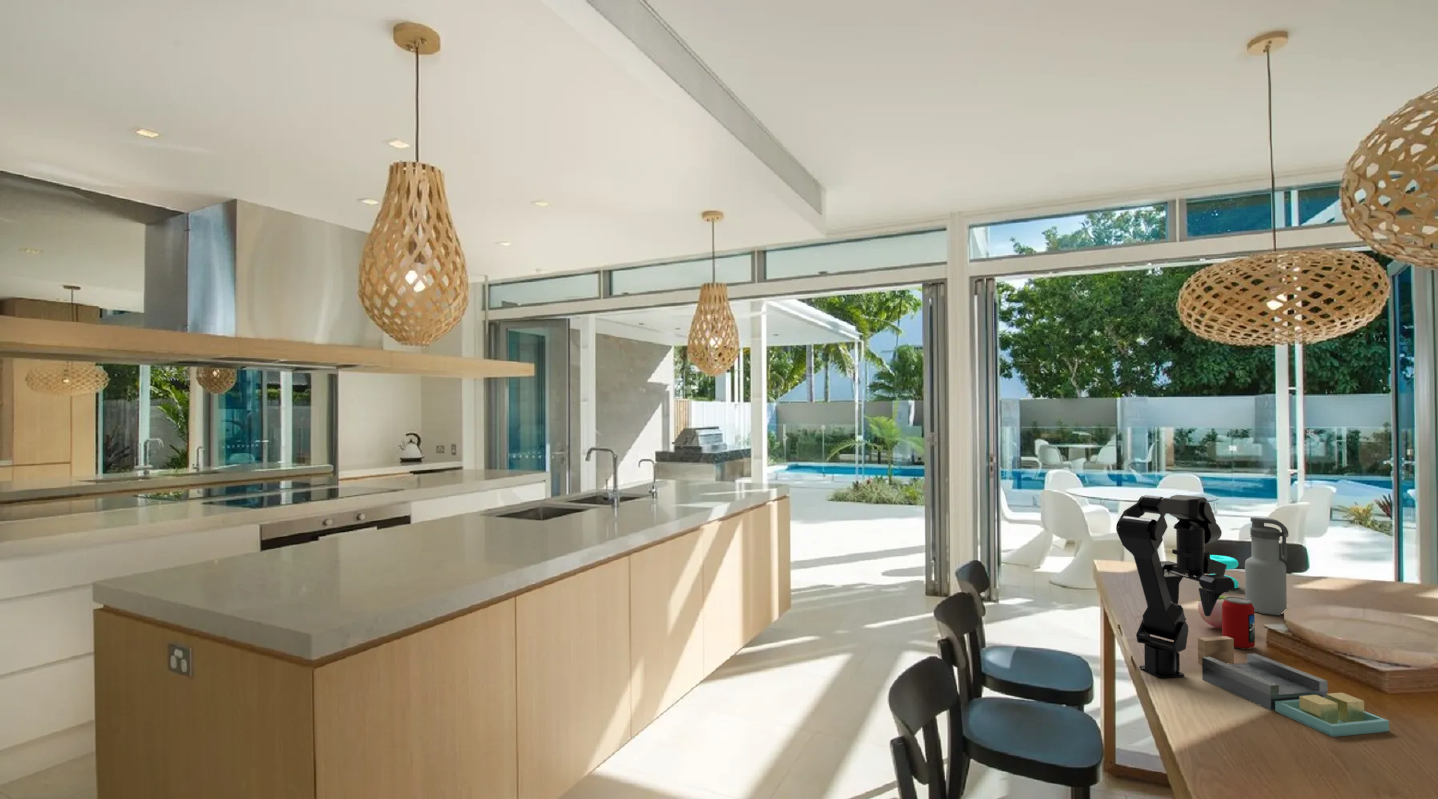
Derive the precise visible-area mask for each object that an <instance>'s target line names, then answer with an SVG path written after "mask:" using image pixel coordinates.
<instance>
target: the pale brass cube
mask: <svg viewBox="0 0 1438 799" xmlns="http://www.w3.org/2000/svg"><path fill="white" fill-rule="evenodd" d="M1299 708H1300V711H1303V712H1305V713H1307V714H1310V715H1312V716H1314V717H1317V718H1319V719H1321V720H1323V721H1326V722H1328V723H1330V724H1336V723H1338V703H1335V702H1333V701H1330V700H1328V699H1326V698H1323V697H1321V696H1318V695H1308V696H1299Z"/></svg>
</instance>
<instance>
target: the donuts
mask: <svg viewBox="0 0 1438 799" xmlns="http://www.w3.org/2000/svg"><path fill="white" fill-rule="evenodd" d="M1210 559H1212V560H1215V561H1218V562H1221V563H1223V564H1226V565H1227V567H1226V570H1225V571H1227V570H1234V569H1236V568H1237V567H1238V566H1239V561H1238V560H1237V559H1236V558H1235V557H1231V556H1227V555H1219V554H1218V555H1217V554H1210ZM1208 575H1214V574H1208ZM1224 576H1226V577H1230V578H1231V579H1232V580H1233V581H1234V588H1235V589H1237V588H1239V585H1240V583H1239V581H1238V580H1237V578H1234V577H1232V576H1229V575H1226V574H1224Z"/></svg>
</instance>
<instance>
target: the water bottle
mask: <svg viewBox="0 0 1438 799" xmlns="http://www.w3.org/2000/svg"><path fill="white" fill-rule="evenodd" d="M1250 523H1251V527H1250V529H1249V530H1250V533H1249V535H1250V536H1249V538H1251V556H1250V557H1248V558H1246V560H1245V562H1244V583H1245V584H1244V586H1245V587H1244V591H1245V592H1244V593H1245V594H1244V595H1245V597H1244V599H1248V600H1250V601H1251V603H1252V605H1253V607H1254V612H1255V613H1256V612H1259V613H1258V614H1261V613H1264V614H1263V615H1267V614H1270V616H1280V615H1279V614H1281V613H1282V612H1283V611H1284V610H1285V609H1287V608H1288V607H1287V606H1288V605H1287V603H1288V602H1287V600H1288V599H1287V566H1286V564H1285V563H1284V562H1283V561H1285V562H1287V561H1288V544H1287V538H1288V537H1289V530H1288V527H1286V526H1285V525H1284V524H1283V523H1282V522H1281V521H1279V520H1277V519H1275V518H1267V517H1256V516H1252V517H1250ZM1265 524H1270V525H1275V526H1278V527H1279V528H1280V529H1278V528H1276V527H1273V526H1267V525H1265ZM1280 530H1281V531H1280ZM1280 537H1281V538H1282V539H1280ZM1280 540H1281V542H1280ZM1280 543H1281V544H1280ZM1280 545H1281V548H1280ZM1280 549H1281V551H1280ZM1280 552H1281V558H1282V560H1283V561H1282V560H1280ZM1287 610H1288V609H1287Z"/></svg>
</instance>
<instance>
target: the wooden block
mask: <svg viewBox="0 0 1438 799" xmlns="http://www.w3.org/2000/svg"><path fill="white" fill-rule="evenodd" d="M1234 651H1235V648H1234V639H1233V638H1230V637H1227V636H1208V637H1198V638H1197V662H1199V663H1198V664H1200V665H1202V657H1212V658H1214V659H1217V660H1219V661H1221V662H1224V663H1226V664H1227V663H1234V664H1235V652H1234Z"/></svg>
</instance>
